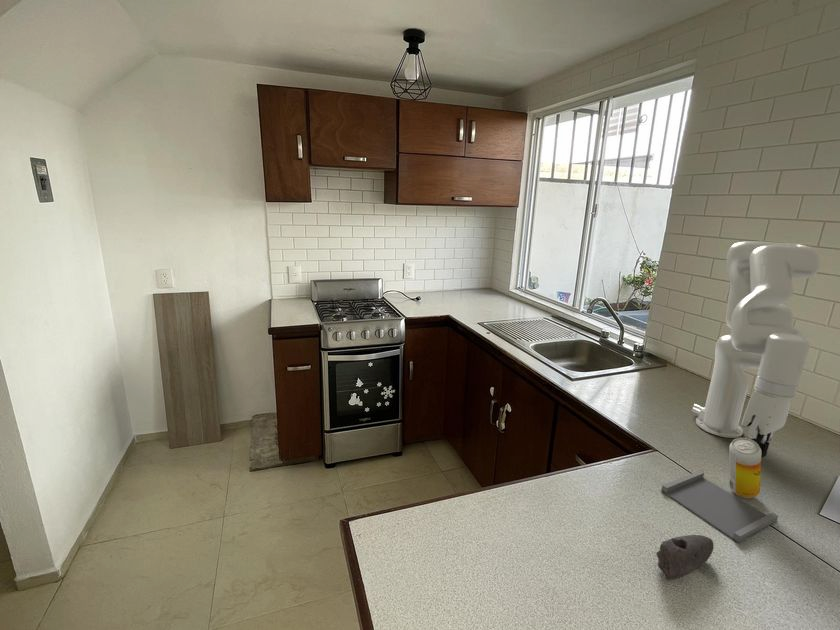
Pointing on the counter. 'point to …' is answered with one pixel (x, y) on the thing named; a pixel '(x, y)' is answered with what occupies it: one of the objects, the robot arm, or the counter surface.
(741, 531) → the stand
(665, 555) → the perforated stone tool
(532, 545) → the counter surface
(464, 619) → the counter surface
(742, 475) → the beer can
